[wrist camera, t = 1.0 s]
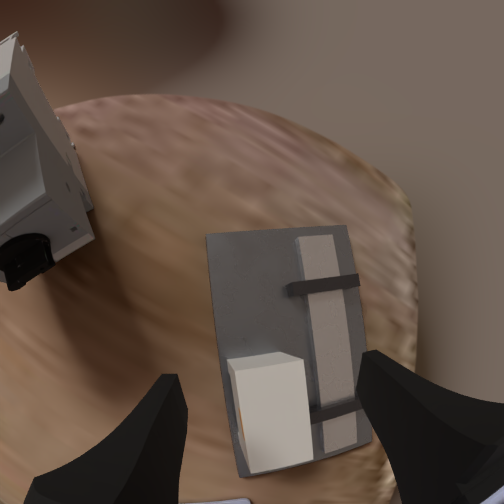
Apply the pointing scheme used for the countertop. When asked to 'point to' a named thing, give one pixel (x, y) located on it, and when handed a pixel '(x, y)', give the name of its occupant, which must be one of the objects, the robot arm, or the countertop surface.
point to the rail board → (294, 323)
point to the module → (271, 410)
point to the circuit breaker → (35, 176)
